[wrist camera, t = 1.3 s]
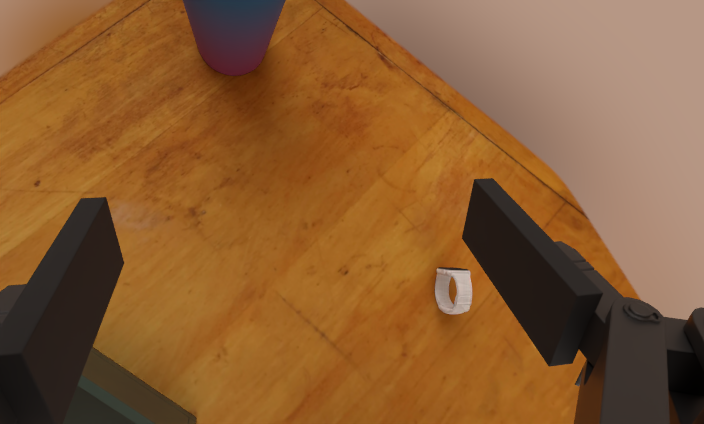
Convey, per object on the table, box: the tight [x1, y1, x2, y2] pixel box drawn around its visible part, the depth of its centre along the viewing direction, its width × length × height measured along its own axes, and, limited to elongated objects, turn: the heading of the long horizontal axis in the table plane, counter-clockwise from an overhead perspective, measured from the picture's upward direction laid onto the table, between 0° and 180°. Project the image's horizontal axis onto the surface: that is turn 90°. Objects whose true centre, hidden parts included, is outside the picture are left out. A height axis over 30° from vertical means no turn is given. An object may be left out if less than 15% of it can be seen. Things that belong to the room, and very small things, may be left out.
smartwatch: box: [435, 267, 472, 314], centre depth 36 cm, size 4×2×4 cm, turn 178°
